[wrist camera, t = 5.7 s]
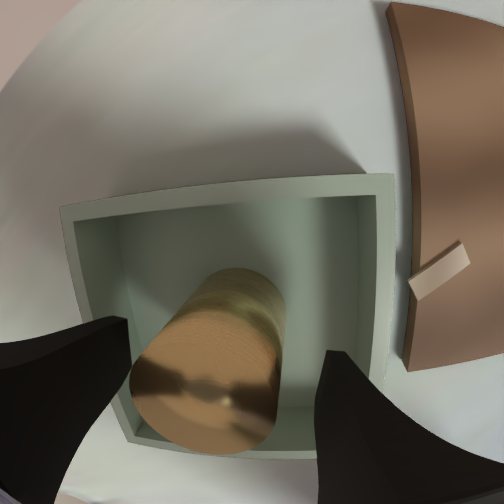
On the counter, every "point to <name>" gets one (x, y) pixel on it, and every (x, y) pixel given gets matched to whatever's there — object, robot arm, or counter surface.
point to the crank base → (453, 183)
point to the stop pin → (216, 366)
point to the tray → (254, 258)
